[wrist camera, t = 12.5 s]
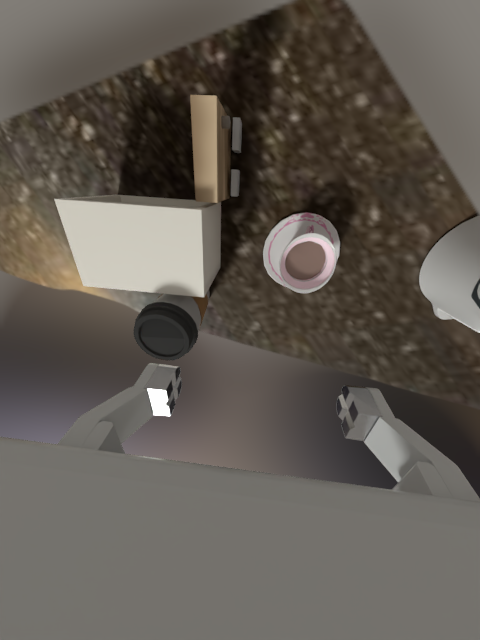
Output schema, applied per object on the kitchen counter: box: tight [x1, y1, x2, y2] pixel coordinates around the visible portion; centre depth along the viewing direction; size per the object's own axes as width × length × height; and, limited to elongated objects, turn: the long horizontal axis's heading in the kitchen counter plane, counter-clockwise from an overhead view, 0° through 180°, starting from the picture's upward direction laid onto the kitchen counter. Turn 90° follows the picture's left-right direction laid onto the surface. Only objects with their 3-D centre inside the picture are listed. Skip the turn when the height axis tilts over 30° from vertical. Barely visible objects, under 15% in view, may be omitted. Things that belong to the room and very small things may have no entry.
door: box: [190, 95, 231, 203], centre depth 26 cm, size 3×8×10 cm, turn 178°
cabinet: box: [54, 117, 242, 297], centre depth 29 cm, size 19×19×12 cm
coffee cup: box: [134, 289, 210, 360], centre depth 35 cm, size 8×8×15 cm
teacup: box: [263, 212, 340, 293], centre depth 33 cm, size 12×12×6 cm
